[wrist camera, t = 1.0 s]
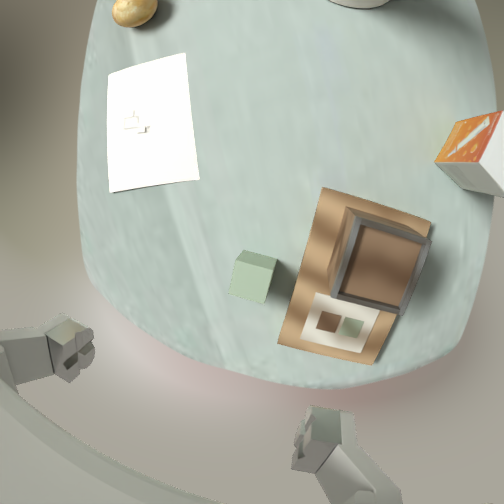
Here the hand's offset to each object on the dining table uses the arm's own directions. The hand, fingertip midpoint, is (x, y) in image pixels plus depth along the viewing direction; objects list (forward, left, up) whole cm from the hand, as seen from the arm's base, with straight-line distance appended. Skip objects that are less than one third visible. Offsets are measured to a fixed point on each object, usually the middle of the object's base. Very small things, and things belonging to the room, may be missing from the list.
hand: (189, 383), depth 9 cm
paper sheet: (-12, -18, -34) cm, 40 cm away
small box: (-17, +23, -33) cm, 44 cm away
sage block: (+8, -2, -33) cm, 34 cm away
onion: (-31, -31, -34) cm, 55 cm away
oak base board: (+6, +12, -33) cm, 36 cm away
